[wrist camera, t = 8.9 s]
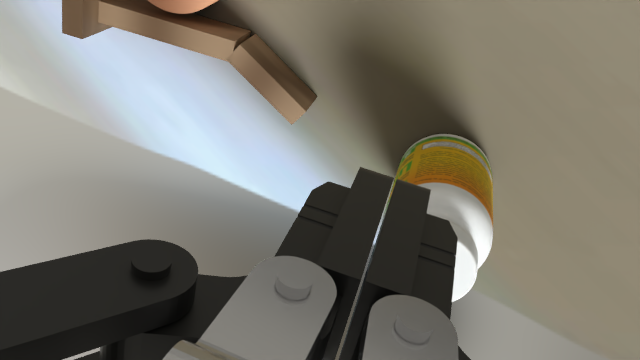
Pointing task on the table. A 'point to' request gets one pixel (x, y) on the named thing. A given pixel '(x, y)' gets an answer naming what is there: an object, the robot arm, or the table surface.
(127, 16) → the dock
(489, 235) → the supplement bottle
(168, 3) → the salmon orange rounded piece
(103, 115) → the table surface
